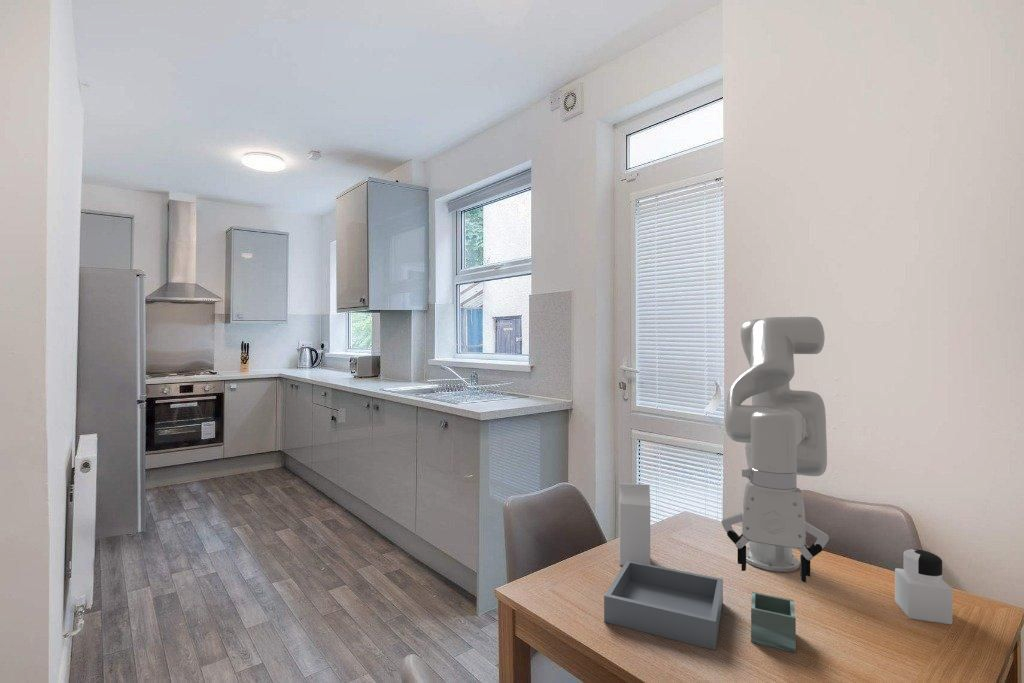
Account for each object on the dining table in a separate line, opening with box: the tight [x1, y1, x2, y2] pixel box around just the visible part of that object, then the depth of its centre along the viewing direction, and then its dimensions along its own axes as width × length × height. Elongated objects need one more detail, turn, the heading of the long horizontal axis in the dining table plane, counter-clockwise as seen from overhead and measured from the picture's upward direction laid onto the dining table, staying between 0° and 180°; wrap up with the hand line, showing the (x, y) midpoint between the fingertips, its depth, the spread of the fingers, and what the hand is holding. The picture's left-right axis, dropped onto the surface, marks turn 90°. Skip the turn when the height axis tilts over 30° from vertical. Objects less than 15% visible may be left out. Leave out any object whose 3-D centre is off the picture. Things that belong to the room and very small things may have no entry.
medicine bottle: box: [894, 548, 953, 626], centre depth 101 cm, size 7×7×12 cm
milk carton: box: [619, 482, 651, 566], centre depth 125 cm, size 7×7×19 cm
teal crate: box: [750, 591, 797, 654], centre depth 92 cm, size 7×7×6 cm
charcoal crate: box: [603, 560, 724, 651], centre depth 101 cm, size 18×20×5 cm
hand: (772, 573), depth 92 cm, fingers open, 9 cm apart
